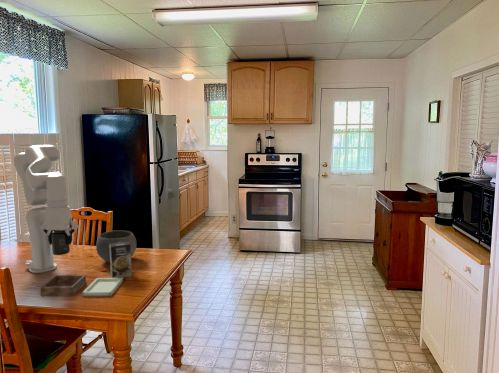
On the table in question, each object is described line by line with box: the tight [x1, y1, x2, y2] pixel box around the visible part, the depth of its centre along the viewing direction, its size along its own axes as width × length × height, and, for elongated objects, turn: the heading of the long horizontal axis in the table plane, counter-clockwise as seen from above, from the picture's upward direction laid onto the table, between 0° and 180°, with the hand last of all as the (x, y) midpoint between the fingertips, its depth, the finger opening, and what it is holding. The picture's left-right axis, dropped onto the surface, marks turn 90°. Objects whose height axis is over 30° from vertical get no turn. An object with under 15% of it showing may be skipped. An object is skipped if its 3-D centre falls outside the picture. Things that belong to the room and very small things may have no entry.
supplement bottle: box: [51, 230, 71, 256], centre depth 167 cm, size 7×7×12 cm
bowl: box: [95, 230, 138, 264], centre depth 205 cm, size 20×20×15 cm
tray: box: [81, 277, 124, 297], centre depth 171 cm, size 12×16×2 cm
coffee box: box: [109, 241, 133, 279], centre depth 185 cm, size 9×6×16 cm
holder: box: [39, 274, 87, 297], centre depth 170 cm, size 14×14×4 cm
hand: (60, 243), depth 167 cm, fingers closed on supplement bottle, 6 cm apart
